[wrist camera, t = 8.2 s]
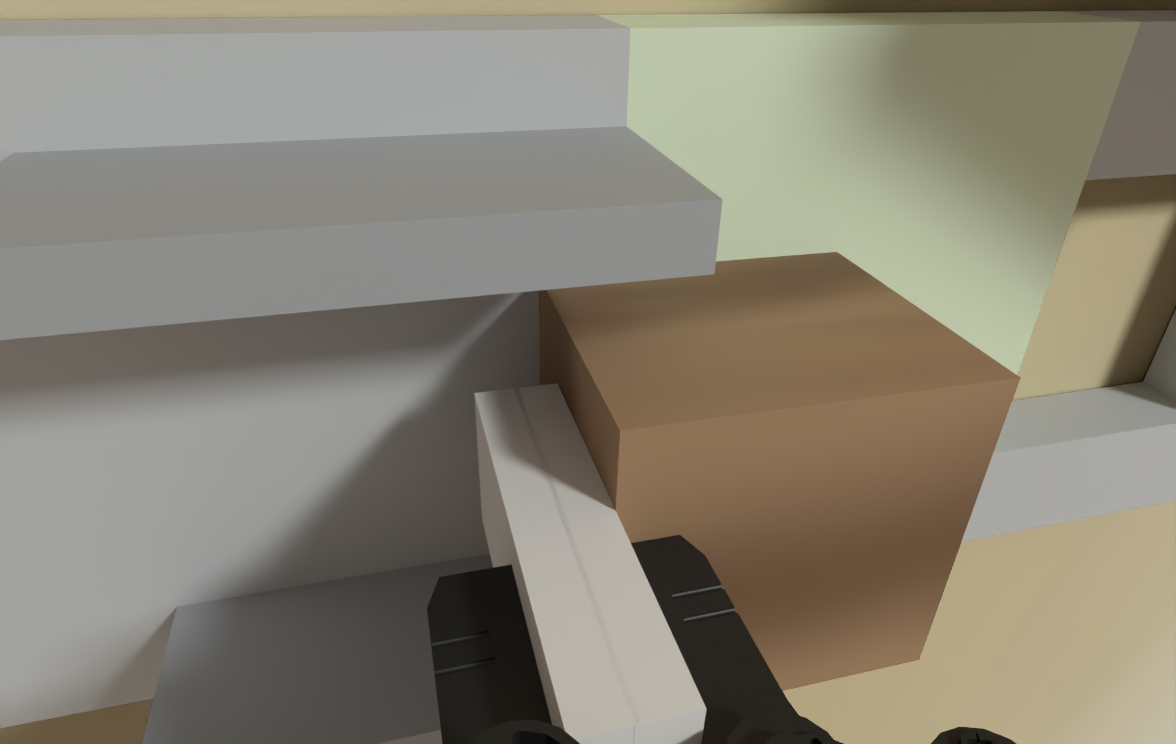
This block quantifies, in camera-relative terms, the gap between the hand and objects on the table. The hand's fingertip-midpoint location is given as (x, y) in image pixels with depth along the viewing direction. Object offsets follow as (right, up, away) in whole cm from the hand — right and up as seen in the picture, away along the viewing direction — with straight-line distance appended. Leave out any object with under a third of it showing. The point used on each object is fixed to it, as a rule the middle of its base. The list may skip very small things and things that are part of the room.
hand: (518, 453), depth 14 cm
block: (+3, +1, +2) cm, 4 cm away
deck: (+2, +2, +4) cm, 5 cm away
